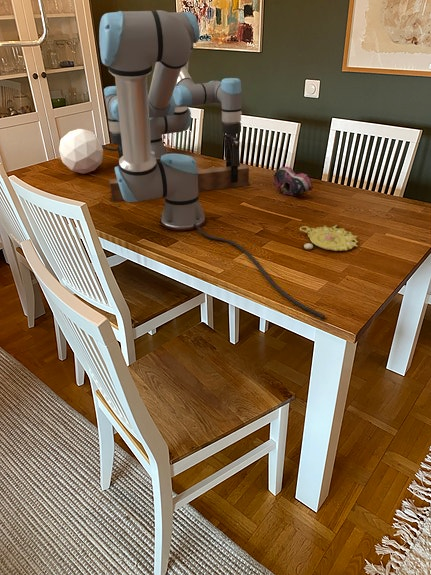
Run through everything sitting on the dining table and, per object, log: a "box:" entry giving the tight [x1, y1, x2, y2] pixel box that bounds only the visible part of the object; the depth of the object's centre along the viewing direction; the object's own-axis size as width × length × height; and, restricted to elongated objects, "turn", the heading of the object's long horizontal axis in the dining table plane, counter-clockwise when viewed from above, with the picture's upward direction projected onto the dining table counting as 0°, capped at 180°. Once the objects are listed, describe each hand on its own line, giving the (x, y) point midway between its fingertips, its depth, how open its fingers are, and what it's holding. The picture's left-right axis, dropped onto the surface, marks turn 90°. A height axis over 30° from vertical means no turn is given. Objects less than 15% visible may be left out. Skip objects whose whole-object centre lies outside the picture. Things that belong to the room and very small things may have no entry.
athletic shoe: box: [270, 166, 314, 197], centre depth 175 cm, size 11×22×12 cm
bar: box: [109, 164, 250, 203], centre depth 180 cm, size 56×5×7 cm, turn 105°
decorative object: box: [299, 224, 359, 252], centre depth 141 cm, size 21×2×20 cm
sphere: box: [58, 128, 104, 175], centre depth 202 cm, size 19×20×20 cm
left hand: (231, 179), depth 185 cm, fingers open, 7 cm apart
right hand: (128, 191), depth 177 cm, fingers open, 7 cm apart
